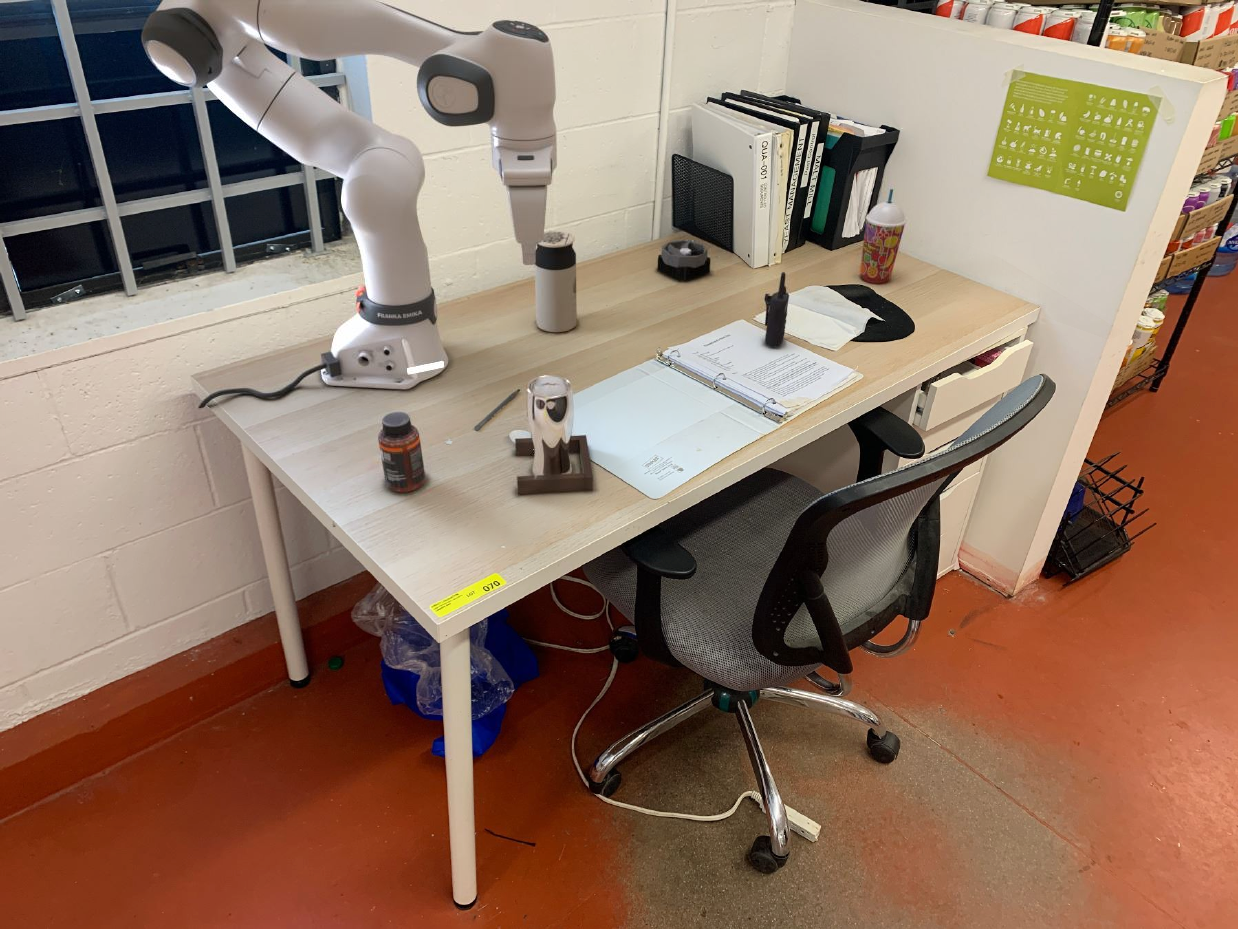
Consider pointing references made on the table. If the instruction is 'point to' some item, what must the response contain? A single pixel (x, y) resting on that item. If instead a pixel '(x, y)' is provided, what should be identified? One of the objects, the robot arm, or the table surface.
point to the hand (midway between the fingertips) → (527, 250)
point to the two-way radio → (776, 314)
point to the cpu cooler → (684, 260)
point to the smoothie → (881, 240)
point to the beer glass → (550, 423)
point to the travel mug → (555, 282)
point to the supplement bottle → (401, 453)
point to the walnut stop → (557, 480)
